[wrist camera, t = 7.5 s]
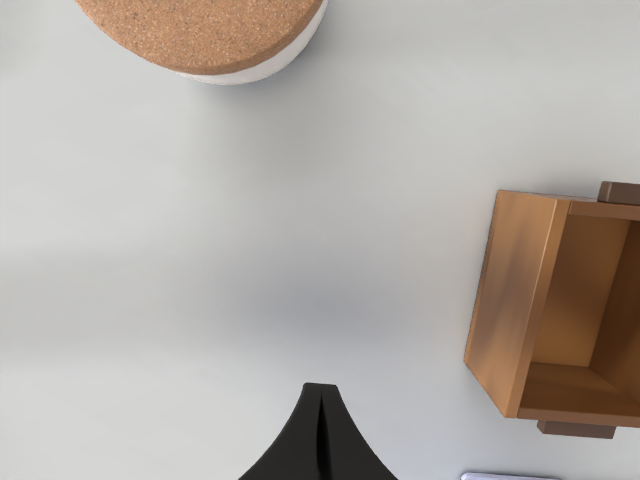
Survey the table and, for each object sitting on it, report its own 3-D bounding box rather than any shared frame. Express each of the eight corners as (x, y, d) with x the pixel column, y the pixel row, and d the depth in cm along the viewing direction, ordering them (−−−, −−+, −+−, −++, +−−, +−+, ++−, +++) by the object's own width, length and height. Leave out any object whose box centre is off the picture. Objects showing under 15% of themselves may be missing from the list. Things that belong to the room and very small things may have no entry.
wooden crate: (585, 383, 24) (659, 445, 19) (460, 373, 24) (500, 433, 19) (643, 186, 21) (751, 194, 16) (500, 173, 21) (562, 177, 16)
